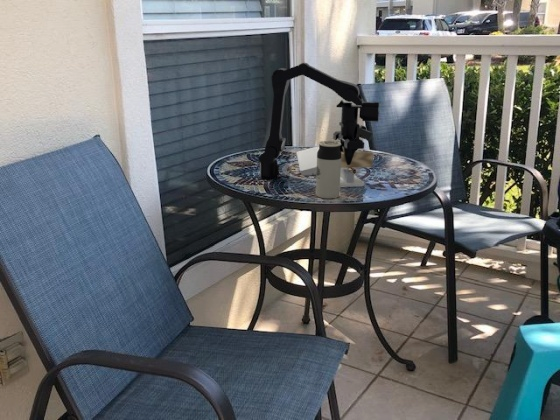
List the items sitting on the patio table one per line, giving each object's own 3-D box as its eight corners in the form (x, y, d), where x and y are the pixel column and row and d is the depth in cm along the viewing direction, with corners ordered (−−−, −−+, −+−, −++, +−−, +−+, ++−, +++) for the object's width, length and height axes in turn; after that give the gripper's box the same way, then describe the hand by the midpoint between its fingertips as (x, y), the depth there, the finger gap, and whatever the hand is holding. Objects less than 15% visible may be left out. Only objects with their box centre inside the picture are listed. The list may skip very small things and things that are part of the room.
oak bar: (369, 164, 210) (370, 151, 208) (372, 167, 206) (373, 153, 204) (321, 165, 207) (322, 152, 205) (324, 168, 203) (324, 154, 202)
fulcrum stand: (337, 186, 202) (338, 174, 200) (328, 178, 213) (329, 166, 211) (364, 185, 203) (365, 173, 202) (354, 177, 215) (354, 165, 213)
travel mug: (338, 192, 195) (341, 140, 189) (339, 199, 187) (342, 145, 182) (315, 192, 195) (317, 140, 190) (315, 198, 188) (317, 145, 182)
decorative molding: (303, 182, 218) (328, 176, 217) (300, 171, 216) (325, 164, 215) (299, 162, 250) (321, 156, 249) (296, 151, 249) (318, 146, 248)
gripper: (380, 124, 194) (376, 169, 199) (362, 116, 211) (360, 157, 216) (348, 124, 192) (346, 169, 197) (333, 116, 209) (331, 157, 214)
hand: (346, 163), depth 206 cm, fingers closed on oak bar, 4 cm apart
